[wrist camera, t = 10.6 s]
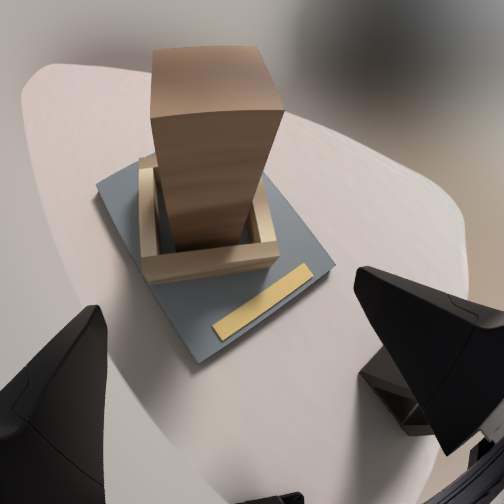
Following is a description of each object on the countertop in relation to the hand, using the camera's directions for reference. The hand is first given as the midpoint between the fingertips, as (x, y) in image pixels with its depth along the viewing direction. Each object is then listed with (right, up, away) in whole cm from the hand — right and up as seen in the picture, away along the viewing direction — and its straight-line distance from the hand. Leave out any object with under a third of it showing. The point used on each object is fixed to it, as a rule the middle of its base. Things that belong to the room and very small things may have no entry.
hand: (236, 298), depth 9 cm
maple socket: (-3, +4, +12) cm, 13 cm away
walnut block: (-3, +4, +12) cm, 13 cm away
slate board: (-3, +3, +13) cm, 14 cm away
